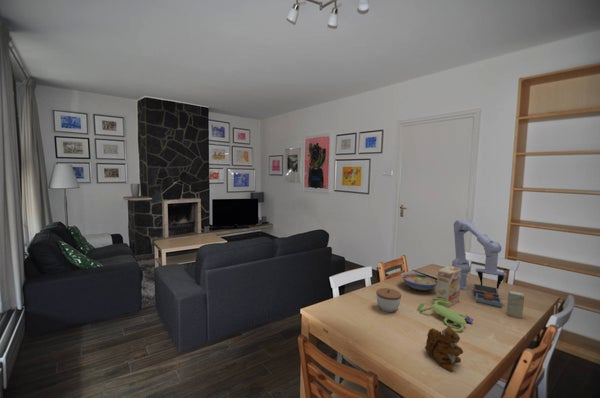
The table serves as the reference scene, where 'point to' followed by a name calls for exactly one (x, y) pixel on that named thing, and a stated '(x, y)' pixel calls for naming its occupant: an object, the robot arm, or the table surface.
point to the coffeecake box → (449, 285)
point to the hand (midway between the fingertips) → (489, 286)
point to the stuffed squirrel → (444, 347)
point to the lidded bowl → (388, 299)
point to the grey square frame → (484, 288)
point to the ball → (488, 296)
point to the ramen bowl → (419, 280)
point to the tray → (495, 302)
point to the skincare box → (515, 304)
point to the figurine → (447, 313)
